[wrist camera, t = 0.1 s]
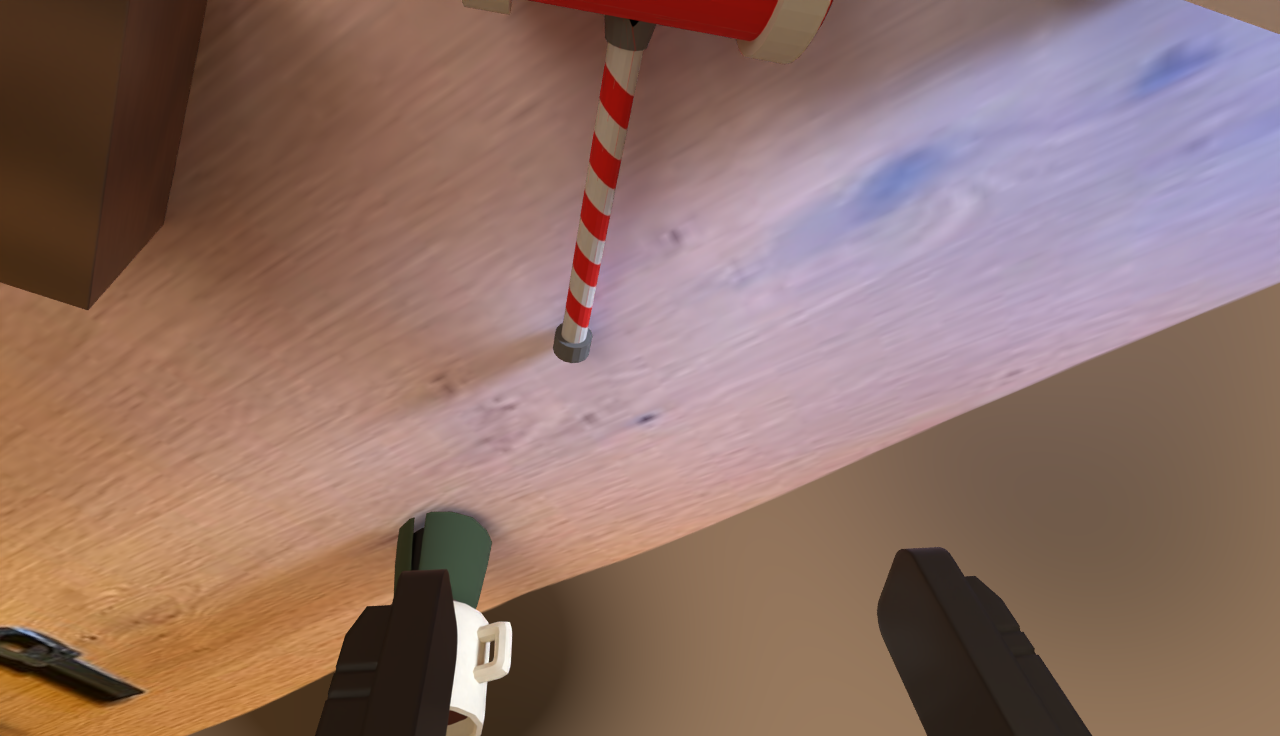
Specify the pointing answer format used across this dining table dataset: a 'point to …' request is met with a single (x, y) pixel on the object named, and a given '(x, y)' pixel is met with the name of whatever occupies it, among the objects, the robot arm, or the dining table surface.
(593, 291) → the toy hammer
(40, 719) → the dining table surface
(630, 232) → the dining table surface
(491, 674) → the character mug
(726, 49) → the dining table surface
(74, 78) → the walnut block
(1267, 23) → the beige tall block
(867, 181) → the dining table surface
